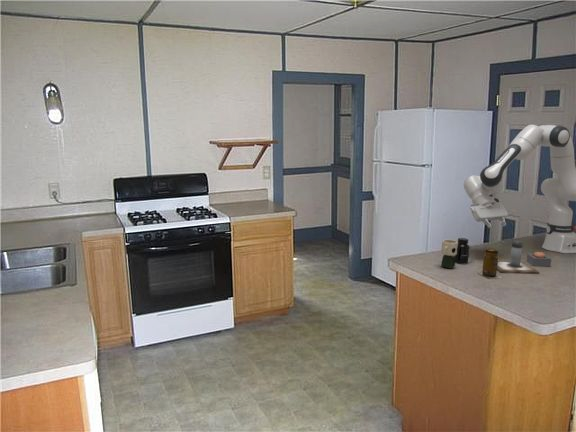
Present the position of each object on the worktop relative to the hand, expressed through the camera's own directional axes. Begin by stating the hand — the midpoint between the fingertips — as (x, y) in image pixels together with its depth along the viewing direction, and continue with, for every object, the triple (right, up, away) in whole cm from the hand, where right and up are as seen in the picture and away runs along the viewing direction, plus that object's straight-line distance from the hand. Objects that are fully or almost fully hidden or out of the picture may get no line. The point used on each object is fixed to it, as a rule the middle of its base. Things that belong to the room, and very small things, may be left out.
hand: (497, 226), depth 237 cm
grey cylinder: (+5, -19, -7) cm, 21 cm away
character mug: (-27, -20, -7) cm, 34 cm away
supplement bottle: (-18, -18, +2) cm, 25 cm away
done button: (+20, -16, 0) cm, 26 cm away
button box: (+20, -19, 0) cm, 28 cm away
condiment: (-11, -22, -18) cm, 31 cm away
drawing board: (+4, -20, -7) cm, 21 cm away
